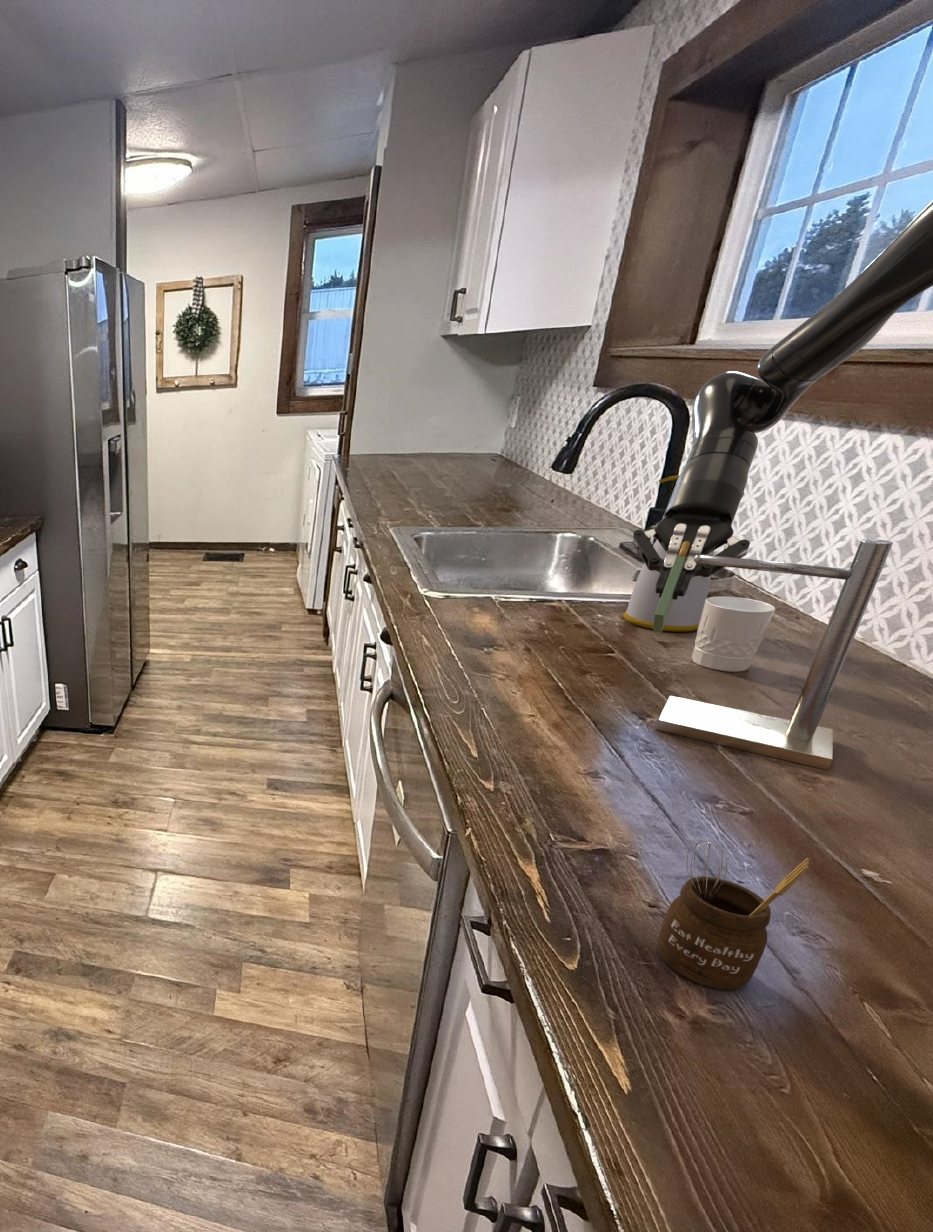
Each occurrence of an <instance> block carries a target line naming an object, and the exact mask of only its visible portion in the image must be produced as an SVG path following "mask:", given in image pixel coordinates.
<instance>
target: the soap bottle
mask: <svg viewBox="0 0 933 1232" xmlns="http://www.w3.org/2000/svg"><path fill="white" fill-rule="evenodd" d="M679 476H680V474H678V475H672V476H668V477H665V478H661V479H659V480H658V482H659V484H662V483H665V482H669V481H674V480H678V478H679ZM652 545H653V547H654V548H655V550H656V552H657V553H658V555H659V556H660V558H661V559H664V560H665V558H666V555H667V552H666V551H665V550H664V549H663V547H662V546H661V544H660V543H659V541H658V540H657V539H656V541H655V542H653V544H652ZM707 555H715V550H714V551H712V552H711V553H709V554H707ZM659 575H660V573H659V572H658V571H656V570H655V571H651V570H649V569H648V568H647V566H646V565H645V563H644V562H643V565H642V568H641V569H640V572H639V574H638V576H637V578H636V581H635V583H634V587H633V589H632V592H631V595H630V598H629V602H628V605H627V608H626V610H625V612H624V613H623V614H622V616H623V618H624V619H625V621H627V622H629V623H631V624H633V625H636V626H637V627H642V628H646V629H649V630H650V629H651V630H653V625H654V617H655V612H656V610H657V607H658V604H659V601H660V599H661V598H660V597H659V593H656V592H655V587H656V583H657V581H658V578H659ZM711 581H712V575H711V576H709V577H702V576H695V577H693V578H692V579H691V581H690V584H689V587H688V589H687V592H686V594H685V595H684V596H683V597H681V596H678V598H677V600H674V601H673V603H672V606H671V609H670V611H669V614H668V617H667V620H666V622H665V625H664V628H663V630H662V632H675V633H678V632H692V631H698V627H699V623H700V619H701V615H702V612H703V608H704V604H705V600H706V599H707V598H708V595H709V591H710V588H711V587H710V586H711Z"/></svg>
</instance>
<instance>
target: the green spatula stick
mask: <svg viewBox="0 0 933 1232" xmlns="http://www.w3.org/2000/svg"><path fill="white" fill-rule="evenodd" d="M689 547H690V542H688V541H685V542H683V544H682V547H681V549H680V552H679V555H678V557H676V558H675V561H674V564H673V566H672V569H671V572H670V574H669V577H668V580H667V583H666V585H665V588H664V591H663V593H662V596H661V599H660V601H659V604H658V607H657V610H656V612H655V617H654V625H653V629H652V632H653V633H658V634H662V633H663V631H662V630H663V628H664V625H665V622H666V620H667V617H668V614H669V611H670V609H671V606H672V603H673V601H674V599H672V598H673V594H674V590H675V588H676V585H677V582H678V580H679V577H680V574H681V572H682V570H683V567H684V564H685V562H686V560H687V557H688V553H689Z"/></svg>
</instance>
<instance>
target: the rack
mask: <svg viewBox="0 0 933 1232" xmlns="http://www.w3.org/2000/svg"><path fill="white" fill-rule="evenodd" d="M893 544H894V542H893V541H890V540H885V539H877V538H862V539H861V540H860V541H859V544H858V547H857V549H856V552H855V554H854V557H853V559H852V562H851V565H850V567H849V568H840V567H831V566H821V565H811V564H801V563H800V564H799V563H791V562H781V561H771V560H764V559H763V560H762V559H753V558H752V559H751V558H744V557H742V558H733V557H723V556H714V555H715V554H714V555H704V554H699V555H696V556H695V557H694V562H695V563H697V564H706V565H715V566H724V567H725V568H734V569H741V570H751V571H753V570H754V571H761V572H762V571H763V572H770V573H771V572H772V573H781V574H790V575H799V576H806V577H807V576H808V577H816V578H825V579H835V580H843V581H844V582H843V585H842V587H841V590H840V593H839V595H838V597H837V600H836V603H835V605H834V607H833V611H832V613H831V615H830V618H829V620H828V623H827V624H826V625H827V626H826V628H825V630H824V633H823V636H822V638H821V641H820V644H819V645H818V648H817V651H816V653H815V656H814V659H813V661H812V663H811V666H810V669H809V671H808V673H807V676H806V678H805V681H804V684H803V687H802V689H801V691H800V695H799V696H798V699H797V700H796V701H797V702H796V704H795V707H794V709H793V712H792V715H791V717H790V719H785V718H781V717H777V716H776V717H775V716H771V715H766V714H761V713H756V712H752V711H747V710H742V709H737V708H734V707H733V708H732V707H727V706H722V705H717V704H713V703H708V702H703V701H699V700H693V699H688V698H684V697H679V696H674V695H669V696H668V698H667V699H666V702H665V704H664V707H663V709H662V711H661V713H660V714H659V716H658V719H657V722H656V725H655V728H654V730H655V731H660V732H664V733H667V734H672V735H677V736H682V737H686V738H690V739H694V740H698V741H702V742H706V743H710V744H715V745H719V746H722V747H723V746H724V747H728V748H730V749H731V748H733V749H736V750H740V751H745V752H749V753H752V754H753V753H754V754H757V755H762V756H765V757H769V758H770V757H771V758H775V759H778V760H783V761H787V762H792V763H796V764H799V765H803V766H804V765H805V766H809V767H811V768H812V767H813V768H817V769H822V770H826V771H829V769H830V767H831V765H832V762H833V758H834V729H833V728H829V727H823V726H819V723H820V722H821V719H822V716H823V715H824V712H825V709H826V707H827V704H828V702H829V700H830V698H831V694H832V692H833V690H834V687H835V685H836V682H837V680H838V677H839V676H840V673H841V670H842V668H843V666H844V663H845V661H846V658H847V656H848V653H849V651H850V648H851V646H852V644H853V642H854V639H855V636H856V634H857V632H858V630H859V627H860V625H861V622H862V619H863V617H864V615H865V612H866V609H867V608H868V605H869V603H870V600H871V598H872V595H873V592H874V591H875V588H876V586H877V583H878V581H879V578H880V576H881V574H882V571H883V568H884V566H885V563H886V561H887V559H888V557H889V554H890V551H891V549H892V546H893Z"/></svg>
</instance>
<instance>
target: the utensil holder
mask: <svg viewBox="0 0 933 1232" xmlns="http://www.w3.org/2000/svg"><path fill="white" fill-rule="evenodd" d="M700 843H701V844H700ZM698 844H700V845H698ZM694 845H695V847H694V851H693V852H692V855H691V861H690V869H692V865H693V868H694V874H695V877H693V875H692V872H689V867H688V863H689V862H688V861H689V852H690V850H691V848H692V847H693V846H694ZM704 845H706V847H705V854H704V862H706V859H708V860H707V868H709V867H710V855H708V857H707V850H708V853H710V852H711V851H710V849H711V847H712V848H713V849H714V851H715V852H716V855H717V856H718V877H712V876H709V869H707V872H706V863H704V864H703V865H704V866H703V876H698V875H697V871H696V863H695V862H696V850H697V849H698V848H700V847H701V846H704ZM714 846H716V847H717V848H718V849H720V850H721V859H720V855H719V853H718V851H717V849H716V848H715V847H714ZM724 855H725V861H726V862H725V864H726V865H725V873H724V874H725V875H724V878H723V879H722V878H720V876H721V873H722V871H723V865H721V864H723V861H724V860H723V859H724ZM810 859H811V858H809V857H806V858H805V859H804V860H803V861H802V862H801V863H800V864H799V865H797V866H796V867H795V868H794V869H793V870H791V872H790V873H788V874H787V875H786V876H785V877H784V878H783V879H782V880H781V881H780V882H778V884H777V886H776V888H775V889H774V891H773V892H772V893H770V894H769V896H768V897H767V898H765V900H764V899H763V898H762V897H761V896H759V895H758V894H757V893H755V892H754V891H752V890H750V889H748V888H746V887H745V886H743V885H740V884H738V883H736V882H732V881H730V880H726V877H727V872H728V857H727V854H726V852H725V850H723V849H722V846H720V845H719V844H718V843H717V842H711V841H710V840H708V841H705V840H703V841H701V840H698V841H697V842H695V843H693V844H691V845H690V846H689V847H688V850H687V855H686V870H687V874H688V876H689V879H687V881H685V883H684V884H683V885H682V886H681V889H680V892H679V895H678V896H677V897H676V898H674V899H673V900H672V901H671V903H670V905H669V906H668V908H667V910H666V914H665V916H664V919H663V922H662V924H661V926H660V927H661V928H660V930H659V933H658V936H657V940H656V950H657V954H658V955H659V957H660V958H661V960H662V961H663V962H664V963H665V964H666V965H667V966H668V968H670V969H671V970H673V971H674V972H676V973H677V974H679V975H680V976H682V977H684V978H686V979H688V980H690V981H692V982H694V983H696V984H699V985H702V986H705V987H708V988H712V989H716V990H726V991H731V990H739V989H741V988H743V987H745V986H746V985H747V984H749V982H750V981H751V979H752V978H753V976H754V974H755V972H756V970H757V968H758V966H759V963H760V961H761V959H762V956H763V954H764V951H765V949H766V946H767V943H768V931H767V928H768V926H769V924H770V921H771V915H772V912H771V908H770V904H772V903H773V902H774V901H775V900H776V899H777V898H778V897H779V896H780V897H782V896H784V895H785V893H787V891H788V890H789V889H791V887H792V886H793V885H794V884H795V883H796V882H797V881H798V880H799V879H800V878H801V877H802V876H803V875H804V874H805V873H806V872H807V870H809V868H810V867H809V865H810ZM705 874H706V876H705Z"/></svg>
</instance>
